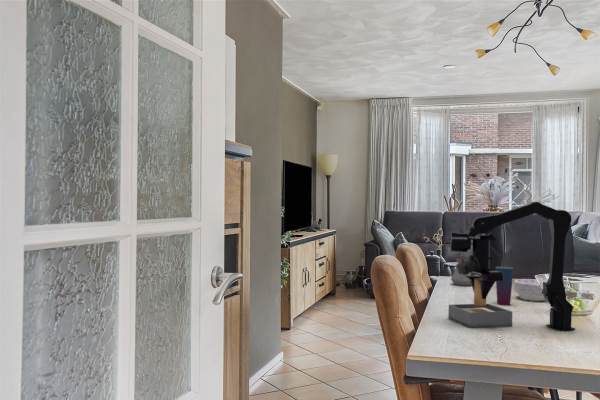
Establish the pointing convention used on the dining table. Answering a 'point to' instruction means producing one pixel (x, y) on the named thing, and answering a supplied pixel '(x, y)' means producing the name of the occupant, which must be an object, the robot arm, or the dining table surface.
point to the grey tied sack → (460, 276)
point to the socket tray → (480, 315)
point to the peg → (478, 294)
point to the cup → (504, 286)
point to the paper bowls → (529, 289)
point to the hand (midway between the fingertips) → (480, 297)
